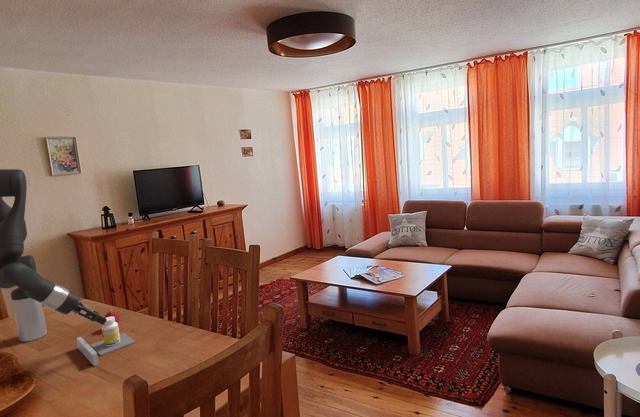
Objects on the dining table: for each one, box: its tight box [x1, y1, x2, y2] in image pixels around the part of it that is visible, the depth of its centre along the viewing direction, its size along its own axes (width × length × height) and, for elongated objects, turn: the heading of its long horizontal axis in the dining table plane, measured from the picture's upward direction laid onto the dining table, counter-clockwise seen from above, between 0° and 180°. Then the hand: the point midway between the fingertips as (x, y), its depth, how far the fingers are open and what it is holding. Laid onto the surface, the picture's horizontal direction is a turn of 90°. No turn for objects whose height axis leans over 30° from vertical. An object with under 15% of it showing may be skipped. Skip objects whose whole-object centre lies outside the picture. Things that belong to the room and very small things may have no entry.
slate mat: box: [90, 332, 137, 356], centre depth 147 cm, size 12×12×1 cm
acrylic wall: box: [76, 336, 100, 367], centre depth 139 cm, size 20×2×4 cm, turn 45°
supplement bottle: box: [101, 316, 121, 346], centre depth 146 cm, size 5×5×10 cm
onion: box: [103, 309, 121, 324], centre depth 162 cm, size 6×6×8 cm
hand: (101, 319), depth 144 cm, fingers open, 8 cm apart
